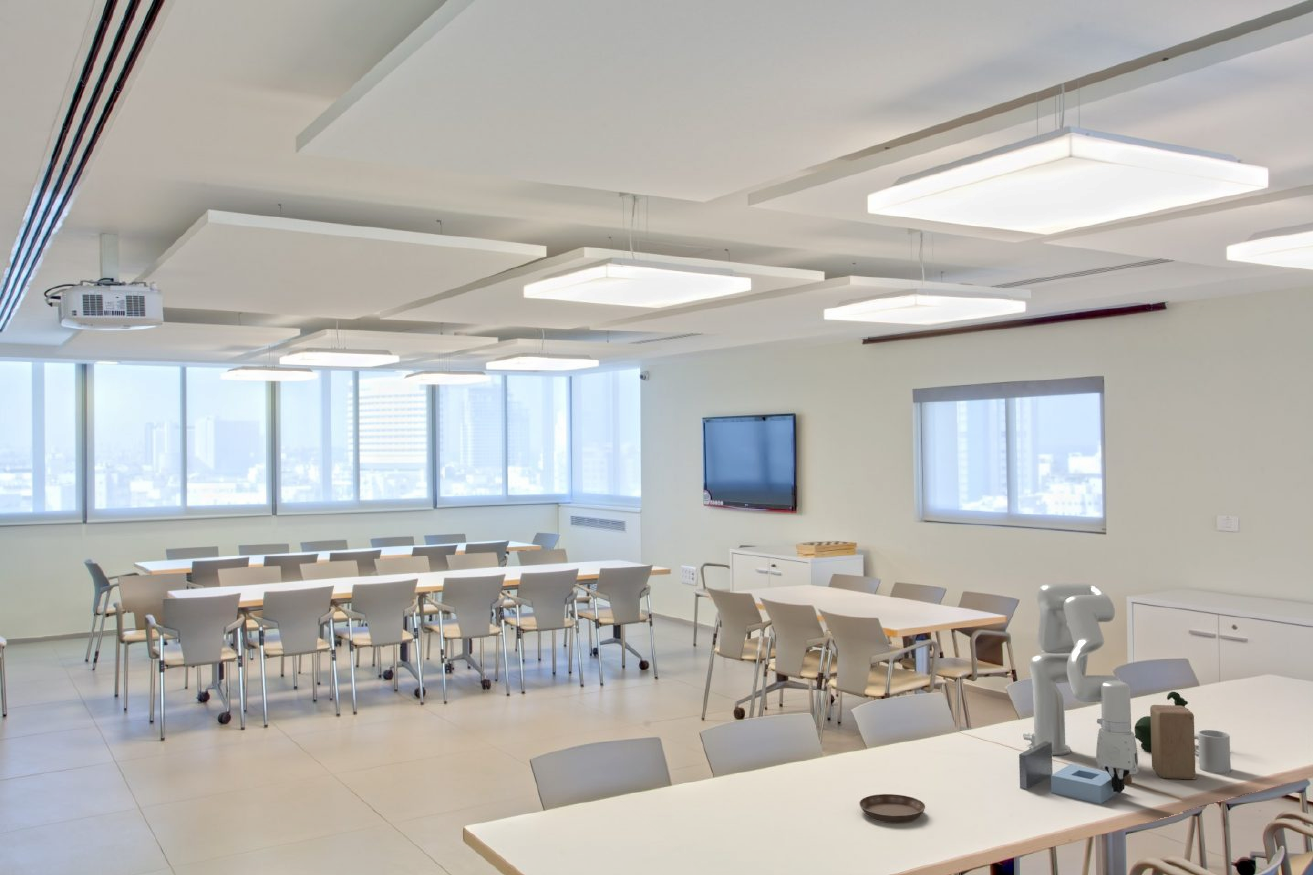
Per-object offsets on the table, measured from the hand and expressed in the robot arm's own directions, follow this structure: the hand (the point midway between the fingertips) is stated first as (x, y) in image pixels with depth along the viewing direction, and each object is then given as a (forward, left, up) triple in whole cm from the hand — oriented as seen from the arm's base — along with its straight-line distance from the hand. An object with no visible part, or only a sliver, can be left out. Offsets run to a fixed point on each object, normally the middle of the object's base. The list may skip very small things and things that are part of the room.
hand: (1118, 790), depth 280 cm
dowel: (-4, +16, -3) cm, 17 cm away
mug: (+10, +48, -3) cm, 49 cm away
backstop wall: (-24, 0, -3) cm, 24 cm away
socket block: (-9, 0, -2) cm, 9 cm away
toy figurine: (-8, +60, -3) cm, 61 cm away
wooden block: (+4, +34, -3) cm, 34 cm away
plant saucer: (-41, -52, -3) cm, 66 cm away
